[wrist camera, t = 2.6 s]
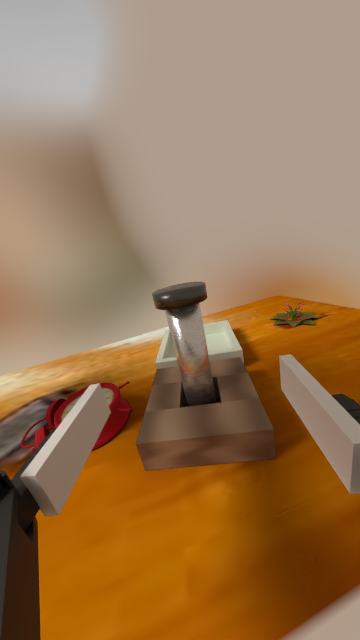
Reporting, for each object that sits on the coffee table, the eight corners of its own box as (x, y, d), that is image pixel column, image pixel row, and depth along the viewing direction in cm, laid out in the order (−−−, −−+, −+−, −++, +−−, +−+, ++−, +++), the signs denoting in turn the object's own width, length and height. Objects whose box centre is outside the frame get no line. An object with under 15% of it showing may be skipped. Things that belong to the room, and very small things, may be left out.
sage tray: (159, 379, 38) (155, 363, 37) (168, 342, 53) (165, 330, 52) (244, 366, 37) (242, 349, 35) (228, 332, 52) (227, 320, 51)
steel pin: (182, 435, 26) (147, 299, 20) (183, 401, 31) (156, 288, 26) (229, 430, 25) (207, 287, 19) (222, 396, 30) (203, 279, 25)
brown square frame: (145, 470, 22) (135, 443, 21) (162, 388, 35) (157, 369, 34) (276, 458, 21) (274, 429, 19) (242, 377, 34) (240, 356, 33)
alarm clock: (133, 412, 26) (-6, 437, 22) (135, 450, 28) (6, 480, 24) (129, 373, 36) (32, 385, 32) (131, 403, 38) (38, 418, 33)
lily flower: (265, 329, 50) (264, 312, 49) (271, 313, 60) (270, 298, 58) (324, 330, 44) (325, 311, 43) (320, 312, 54) (320, 295, 52)
